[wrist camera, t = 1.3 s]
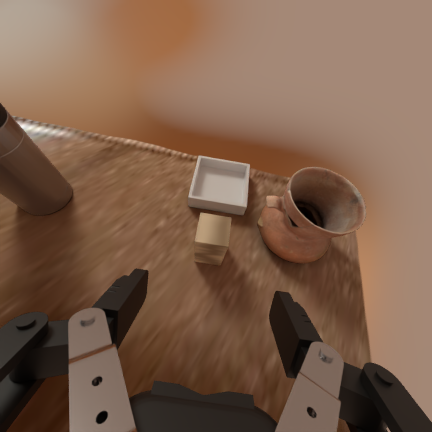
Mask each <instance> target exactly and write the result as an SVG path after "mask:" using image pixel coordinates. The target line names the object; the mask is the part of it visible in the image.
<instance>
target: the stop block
mask: <svg viewBox="0 0 432 432" xmlns="http://www.w3.org/2000/svg"><path fill="white" fill-rule="evenodd" d="M230 227H231V218H230V217H224V216H218V215H212V214H207V213H200V218H199V223H198V228H197V233H196V237H195V256H194V262H200V263H206V264H213V265H219V266H220V265H221V263H222V261H223V258H224V256H225V254H226V251H227V249H228V245H229V236H230Z"/></svg>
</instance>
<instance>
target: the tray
mask: <svg viewBox="0 0 432 432" xmlns="http://www.w3.org/2000/svg"><path fill="white" fill-rule="evenodd" d="M249 168H250V164H245V163H239V162H234V161H228V160H221V159H216V158H210V157H205V156H199V157H198V161H197V165H196V168H195V172H194V176H193V180H192V184H191V188H190V192H189V196H188V206H189V207H195V208H201V209H207V210H213V211H219V212H225V213H231V214H237V215H244V212H245V210H246V208H247V197H248V182H249Z"/></svg>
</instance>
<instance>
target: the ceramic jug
mask: <svg viewBox="0 0 432 432" xmlns="http://www.w3.org/2000/svg"><path fill="white" fill-rule="evenodd" d="M365 209H366V206H365V202H364V199H363V197H362V196H361V194H360V193H359V191H358V190H357V189H356V187H355V186H354V185H353V184H352V183H351V182H349V181H348V180H347V179H346V178H344V177H343V176H341V175H339V174H337V173H335V172H333V171H331V170H328V169H324V168H319V167H309V168H304V169H301V170H299V171H297V172H296V173H295V174H294V175H293V176H292V177H291V179H290V180H289V182H288V184H287V187H286V190H285V193H284V195H283V196H282V197H277V196H267V205H266V206H265V207H264V209H263V210H262V213H261V215H260V218H259V221H258V223H257V225H258V228H259V230H260V233H261V236H262V238H263V240H264V242H265V244H266V245H267V246H268V248H269V249H270V250H271V251H272V252H274V253H275V254H276V255H277V256H279V257H281V258H282V259H284V260H287V261H290V262H293V263H310V262H313V261H316V260H318V259H319V258H321V257H322V256H323V255H324V254H325V253H326V251H327V250H328V248H329V246H330V242H331V238H333V237H338V236H343V235H346V234H349V233H351V232H354V231H355V230H357V229H358V228H359V227H360V226H361V225H362V224H363V222H364V220H365V218H366V211H365Z"/></svg>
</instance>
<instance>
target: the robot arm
mask: <svg viewBox="0 0 432 432" xmlns="http://www.w3.org/2000/svg"><path fill="white" fill-rule="evenodd" d="M0 193H1V194H2V195H3V196H5V197H6V198H8V199H9V200H10V201H12V202H13V203H15V204H16V205H18V206H19V207H20V208H22V209H23V210H25V211H26V212H27V213H30V214H32V215H47V214H51V213H54V212H56V211H58V210H60V209H61V208H63V207H64V206H65V205H66V204H67V203H68V202H69V200H70V199H71V197H72V187H71V186H70V184H69V183H68V182H67V181H66V180H65V178H64V177H63V176H62V175H61V174H60V172H59V171H58V170H57V169H56V168H55V166H54V165H53V164H52V163H51V162H50V161H49V159H48V158H47V157H46V156H45V155H44V154H43V152H42V151H41V150H40V149H39V148H38V146H37V145H36V144H35V143H34V142H33V141H32V139H31V138H30V137H29V136H28V135H27V134H26V132H25V131H24V130H23V129H22V128H21V127H20V125H19V124H18V123H17V122H16V121H15V120H14V118H13V117H12V116H11V115H10V114H9V113H8V111H7V110H5V108H4V107H3V106H2V104H1V103H0ZM147 284H148V270H142V269H134V270H133V272H132V273H131V274H130V275H129V276H126V275H124V276H122V277H121V278H119V279H117V280H116V281H115V282H114V283H113V284H112V286H110V288H109V289H108V290H107V291H106V292H105V293H104V294H103V295H102V296H101V298H100V299H99V300H98V301H97V302H96V303H95V304H94V305H93V306H92V307H91V308H87V309H84V310H81V311H79V312H77V313H76V314H74V315H73V316H72V317H71V318H70V319H69V320H61V321H51V322H48V316H47V315H46V314H45V313H43V312H31V313H27V314H23V315H21V316H18V317H16V318H14V319H12V320H11V321H9V322H8V323H7V324H6V325H4V326H3V327H2V328H1V329H0V432H6V431H7V429H8V428H9V427H10V425H11V424H12V423H13V421H14V420H15V419H16V417H17V416H18V415H19V413H20V412H21V411H22V409H23V408H24V407H25V406H26V404H27V403H28V402H29V400H30V399H31V398H32V396H33V395H34V394H35V392H36V391H37V390H38V388H39V387H40V386H41V384H42V383H43V382H44V380H45V379H46V378H47V377H53V376H58V375H64V374H69V417H70V432H337V425H338V418H341V419H343V420H345V421H346V423H347V425H348V427H349V430H350V432H388V431H387V430H386V428H387V427H388V428H389V430H390V431H391V432H432V422H431V421H430V420H429V418H428V417H427V416H426V415H425V413H424V412H423V411H422V409H421V408H420V407H419V406H418V404H417V403H416V402H415V401H414V399H413V398H412V397H411V395H410V394H409V393H408V391H407V390H406V389H405V388H404V386H403V385H402V384H401V382H400V381H399V380H398V379H397V378H396V377H395V376H394V375H393V374H392V373H391V372H389V371H388V370H386V369H385V368H383V367H382V366H380V365H377V364H374V363H366V364H365V365H364V367H363V369H359V368H357V367H355V366H352V365H350V364H347V363H345V362H343V360H342V358H341V356H340V355H339V354H338V352H337V351H336V350H334V349H333V348H332V347H330V346H329V345H327V344H325V343H323V341H322V339H321V338H320V336H319V334H318V332H317V331H316V329H315V327H314V325H313V324H312V323H311V320H310V319H309V317H308V315H307V313H306V312H305V310H304V308H302V307H301V306H300V305H299V304H298V303H297V302H294V301H293V299H292V297H291V295H290V293H288V292H281V291H276V292H275V294H274V298H273V301H272V305H271V309H270V313H269V320H270V325H271V328H272V331H273V334H274V337H275V341H276V344H277V347H278V350H279V354H280V357H281V360H282V363H283V366H284V370H285V373H286V376H287V377H288V378H295V379H296V381H295V383H294V386H293V388H292V391H291V393H290V396H289V398H288V401H287V403H286V405H285V408H284V410H283V413H282V415H281V418H280V420H279V423H278V424H277V422H276V421H275V420H274V419H273V418H272V417H271V416H270V415H268V414H267V413H266V412H264V411H263V410H262V409H260V408H258V407H256V406H254V400H253V395H249V394H242V393H236V392H222V393H216V394H210V395H201V394H199V393H197V392H195V391H192V390H190V389H188V388H186V387H184V386H182V385H179V384H174V383H167V382H161V381H154V384H153V387H152V390H150V391H145V392H141V393H139V394H136V395H134V396H132V397H131V398H128V394H127V390H126V386H125V382H124V378H123V373H122V369H121V365H120V361H119V357H118V353H117V350H118V348H119V346H120V344H121V342H122V341H123V339H124V337H125V335H126V333H127V332H128V330H129V328H130V326H131V325H132V323H133V321H134V319H135V317H136V316H137V314H138V312H139V310H140V308H141V307H142V305H143V303H144V301H145V298H146V294H147Z"/></svg>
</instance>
